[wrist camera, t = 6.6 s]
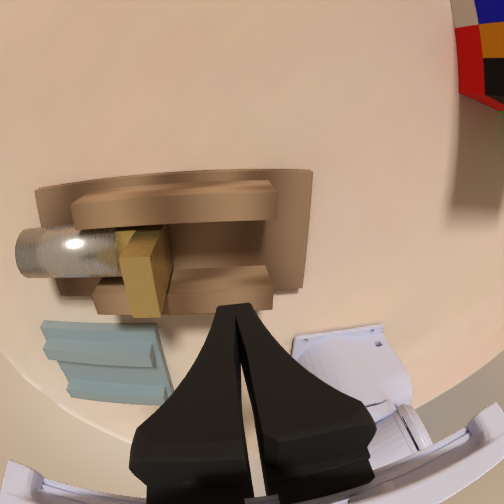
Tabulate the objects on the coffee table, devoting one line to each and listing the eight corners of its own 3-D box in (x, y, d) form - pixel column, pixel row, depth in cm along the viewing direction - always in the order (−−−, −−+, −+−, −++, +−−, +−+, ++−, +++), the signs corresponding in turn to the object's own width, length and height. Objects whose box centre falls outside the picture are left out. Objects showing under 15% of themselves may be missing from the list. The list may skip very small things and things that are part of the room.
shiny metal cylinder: (127, 216, 19) (109, 225, 15) (132, 266, 19) (117, 284, 16) (37, 224, 18) (11, 234, 14) (44, 269, 19) (21, 285, 15)
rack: (156, 324, 23) (151, 344, 21) (174, 393, 28) (173, 412, 25) (44, 320, 22) (33, 337, 20) (78, 386, 26) (72, 403, 24)
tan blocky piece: (167, 215, 18) (149, 256, 13) (173, 264, 20) (160, 317, 15) (125, 218, 18) (93, 259, 13) (133, 265, 20) (109, 317, 14)
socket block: (309, 169, 19) (330, 182, 16) (299, 282, 23) (314, 312, 20) (39, 188, 17) (10, 204, 13) (64, 290, 21) (45, 318, 17)
